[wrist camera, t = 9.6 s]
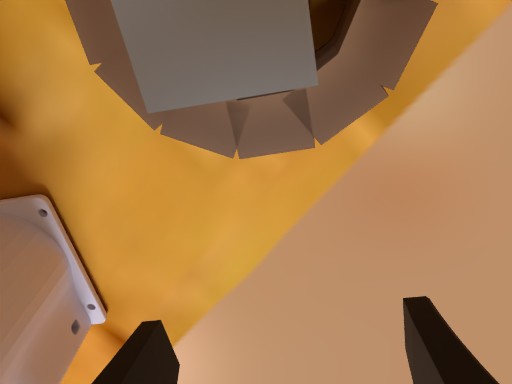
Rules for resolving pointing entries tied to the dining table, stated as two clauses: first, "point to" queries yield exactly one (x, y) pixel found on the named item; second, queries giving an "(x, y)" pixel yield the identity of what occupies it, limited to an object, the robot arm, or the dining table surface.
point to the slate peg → (216, 49)
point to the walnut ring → (279, 103)
